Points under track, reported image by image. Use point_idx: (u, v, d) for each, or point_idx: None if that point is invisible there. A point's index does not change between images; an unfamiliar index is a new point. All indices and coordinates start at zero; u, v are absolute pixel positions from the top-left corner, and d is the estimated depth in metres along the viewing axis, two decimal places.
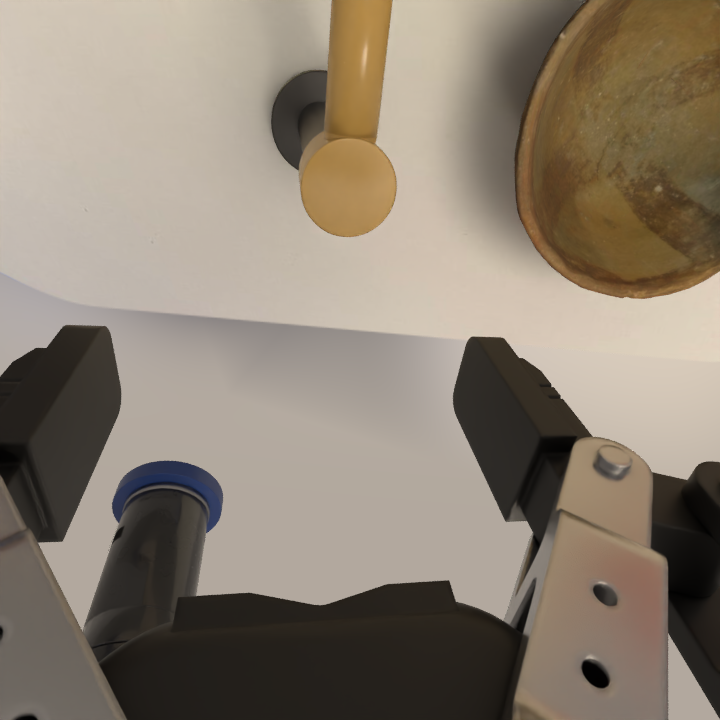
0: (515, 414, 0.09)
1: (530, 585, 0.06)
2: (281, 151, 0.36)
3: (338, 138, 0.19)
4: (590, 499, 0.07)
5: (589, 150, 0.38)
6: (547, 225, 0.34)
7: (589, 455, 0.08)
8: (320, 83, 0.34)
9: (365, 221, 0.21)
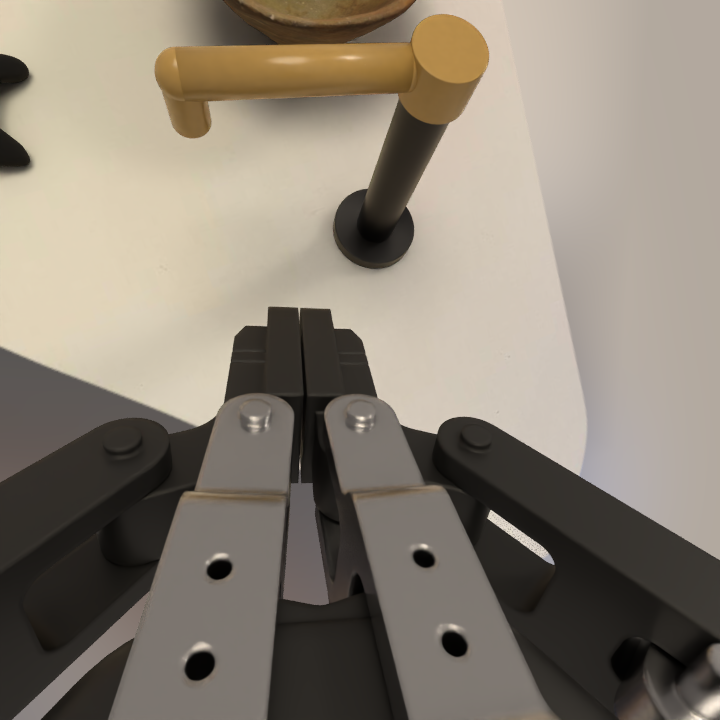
0: (304, 377, 0.09)
1: (351, 578, 0.06)
2: (403, 252, 0.41)
3: (416, 60, 0.23)
4: (362, 462, 0.07)
5: (329, 8, 0.44)
6: None
7: (340, 410, 0.08)
8: (344, 229, 0.41)
9: (470, 33, 0.24)
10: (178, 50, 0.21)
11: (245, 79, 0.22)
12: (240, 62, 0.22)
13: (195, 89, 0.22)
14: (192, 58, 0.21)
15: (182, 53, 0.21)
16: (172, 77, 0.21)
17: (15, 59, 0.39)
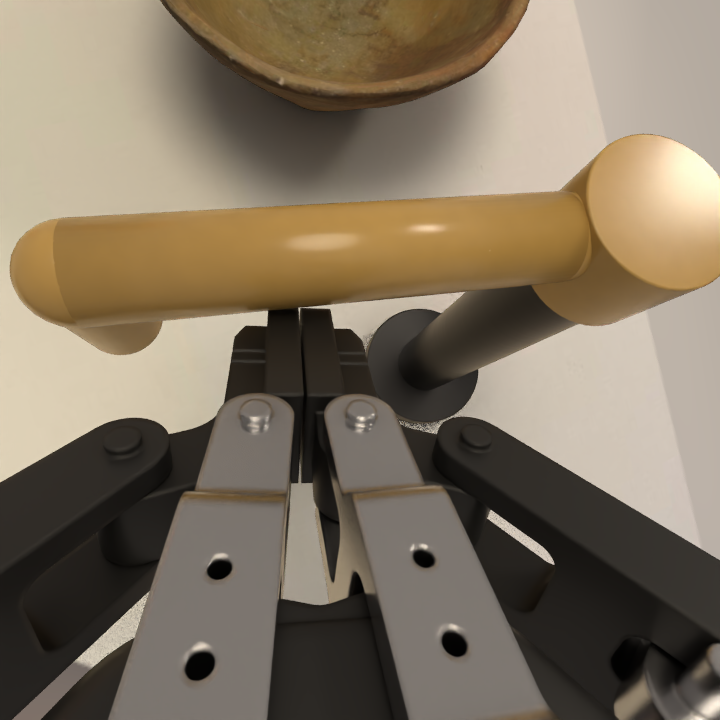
0: (304, 377, 0.09)
1: (351, 578, 0.06)
2: (463, 403, 0.29)
3: (598, 239, 0.11)
4: (362, 462, 0.07)
5: (358, 50, 0.32)
6: (473, 38, 0.26)
7: (340, 411, 0.08)
8: (381, 373, 0.28)
9: (699, 174, 0.12)
10: (62, 236, 0.09)
11: (223, 292, 0.10)
12: (212, 259, 0.09)
13: (106, 316, 0.09)
14: (95, 255, 0.09)
15: (71, 243, 0.09)
16: (46, 298, 0.09)
17: None
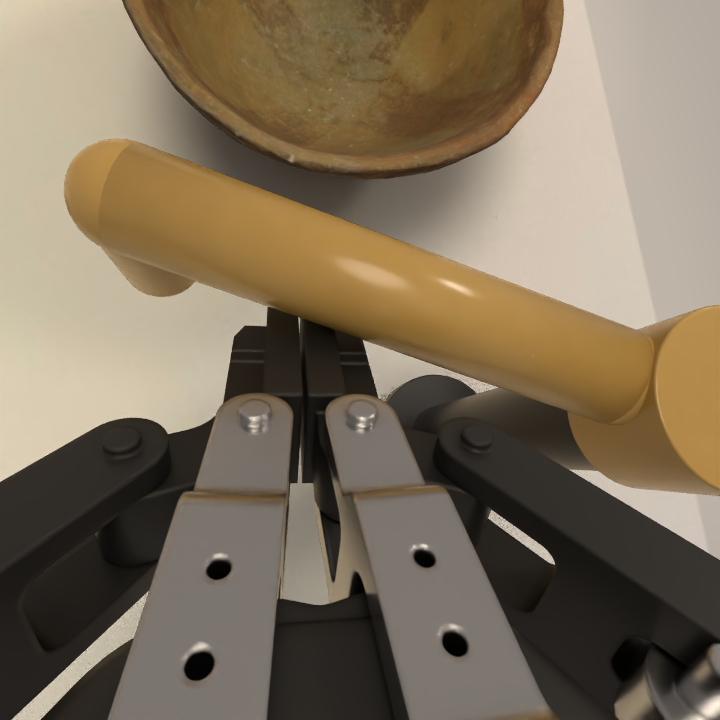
0: (305, 377, 0.09)
1: (352, 578, 0.06)
2: None
3: (653, 396, 0.10)
4: (363, 462, 0.07)
5: (368, 97, 0.30)
6: (493, 98, 0.24)
7: (341, 411, 0.08)
8: None
9: None
10: (125, 158, 0.09)
11: (250, 276, 0.09)
12: (253, 240, 0.09)
13: (132, 249, 0.09)
14: (147, 188, 0.09)
15: (131, 168, 0.09)
16: (85, 207, 0.09)
17: None
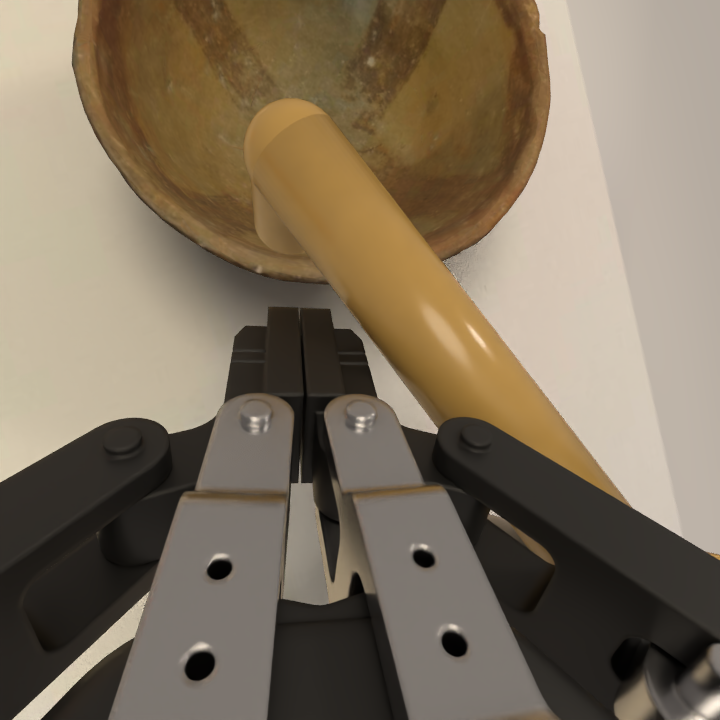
0: (304, 377, 0.09)
1: (351, 578, 0.06)
2: None
3: None
4: (362, 462, 0.07)
5: None
6: (477, 187, 0.23)
7: (340, 411, 0.08)
8: None
9: None
10: (312, 120, 0.10)
11: (344, 267, 0.10)
12: (365, 240, 0.09)
13: (270, 190, 0.10)
14: (312, 152, 0.09)
15: (311, 130, 0.10)
16: (258, 139, 0.10)
17: None
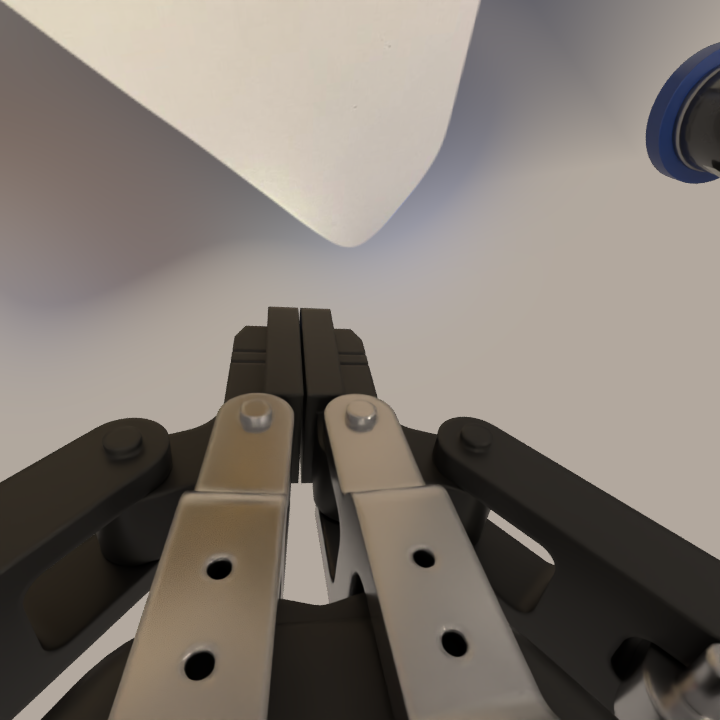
0: (304, 377, 0.09)
1: (351, 578, 0.06)
2: None
3: None
4: (362, 462, 0.07)
5: None
6: None
7: (341, 411, 0.08)
8: None
9: None
10: None
11: None
12: None
13: None
14: None
15: None
16: None
17: None
